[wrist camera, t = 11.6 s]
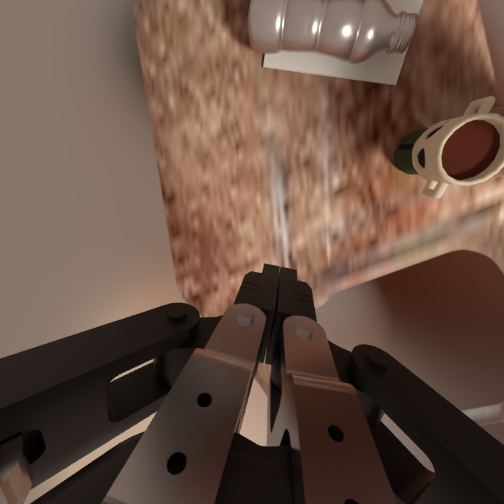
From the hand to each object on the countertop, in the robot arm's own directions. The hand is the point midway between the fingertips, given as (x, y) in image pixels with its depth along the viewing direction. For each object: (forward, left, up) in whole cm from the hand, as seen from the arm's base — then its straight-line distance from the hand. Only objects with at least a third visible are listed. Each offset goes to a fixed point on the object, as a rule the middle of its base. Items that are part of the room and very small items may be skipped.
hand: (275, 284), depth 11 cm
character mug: (-18, -9, -33) cm, 39 cm away
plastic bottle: (+10, -21, -30) cm, 37 cm away
